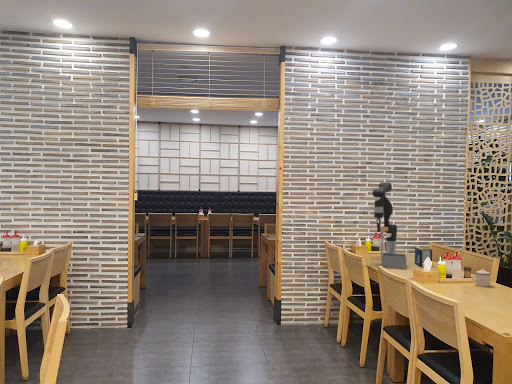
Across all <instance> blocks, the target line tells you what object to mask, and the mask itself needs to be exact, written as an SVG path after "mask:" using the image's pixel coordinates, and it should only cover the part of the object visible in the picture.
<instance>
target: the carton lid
mask: <svg viewBox="0 0 512 384" xmlns="http://www.w3.org/2000/svg"><path fill="white" fill-rule="evenodd" d="M385 231H388V227H384V226H380V232H381V236H380V237H381V238H380V239H381V240H380V256H382V253H384V252H383V251H384V250H383V249H384V247H383V246H384V232H385Z"/></svg>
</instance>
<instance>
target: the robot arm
mask: <svg viewBox="0 0 512 384" xmlns="http://www.w3.org/2000/svg"><path fill="white" fill-rule="evenodd" d="M392 190H393V185H392V183H391V182H389V181H387V182H386V181H384V182H380V183H379V185H378V188H375V189H373V191H372V193H371V194H372V196H373V197H374V198H379V199H376V200H374V209H373V210H374V211H373V212H374V213H373V216H374V218H376V219H375V222H376V230H377V231H376V232H377V233H380V232H381V231H380V227H381V224H382V218H383V227H388V231H384V232H385V234H390V236H388V237H387V236H386V238H385V253H395V254H397V252H396V251H397V250H396V249H397V238H398V237H397V235H398V226H397V224H392V223H390V218H391V217H392V215H393V212H394V211H393V209H394V208H393V204H392V203H391V201H390V200H389V199H388V198H387V196H386V194H387V193H390V192H392Z"/></svg>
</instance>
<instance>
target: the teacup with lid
mask: <svg viewBox="0 0 512 384" xmlns="http://www.w3.org/2000/svg"><path fill="white" fill-rule="evenodd" d="M471 279H472V281H474V282H475V285H476V286H479V287H487V288H488V287H490V286H491V272H489V271H487V270H486V269H485V268H481V269H480V270H477V271H475V274H473V275H472V277H471Z"/></svg>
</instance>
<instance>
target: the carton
mask: <svg viewBox="0 0 512 384" xmlns="http://www.w3.org/2000/svg"><path fill="white" fill-rule="evenodd" d="M407 255H408V254H406V253H405V254H404V253H396V254H395V253H386V252H383V253H382V255H381V256H380V257H381V258H380V259H381V261H380V262H381V263H380V264H381V265H380V266H383V267H384V269H385V268H386V269H399V270H407V262H408V261H407V258H408V257H407ZM383 267H382V268H383Z"/></svg>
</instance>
